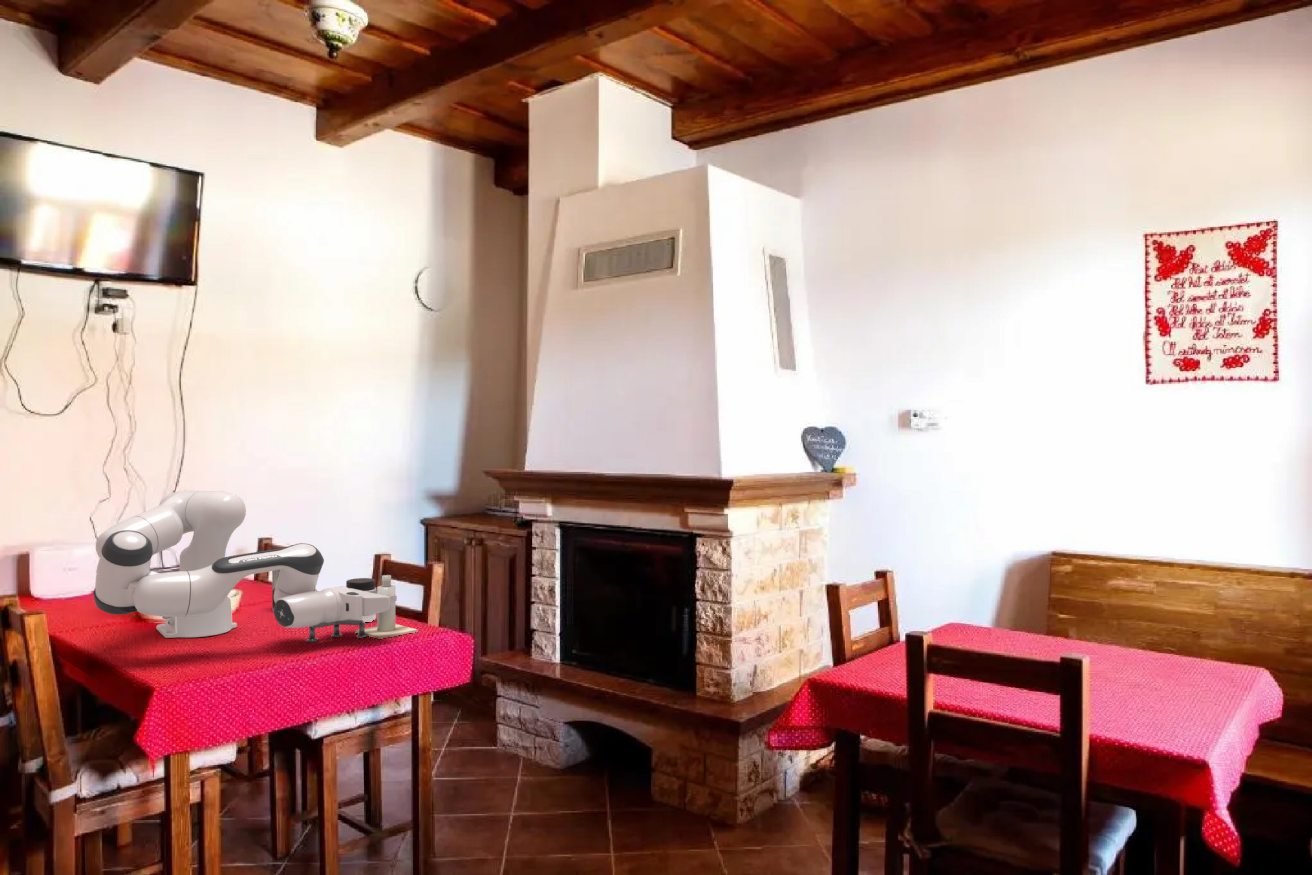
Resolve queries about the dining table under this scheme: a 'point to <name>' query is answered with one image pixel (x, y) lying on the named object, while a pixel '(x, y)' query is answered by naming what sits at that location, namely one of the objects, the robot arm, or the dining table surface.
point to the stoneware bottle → (388, 617)
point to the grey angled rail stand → (337, 629)
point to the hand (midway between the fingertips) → (385, 595)
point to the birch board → (398, 631)
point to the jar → (363, 585)
